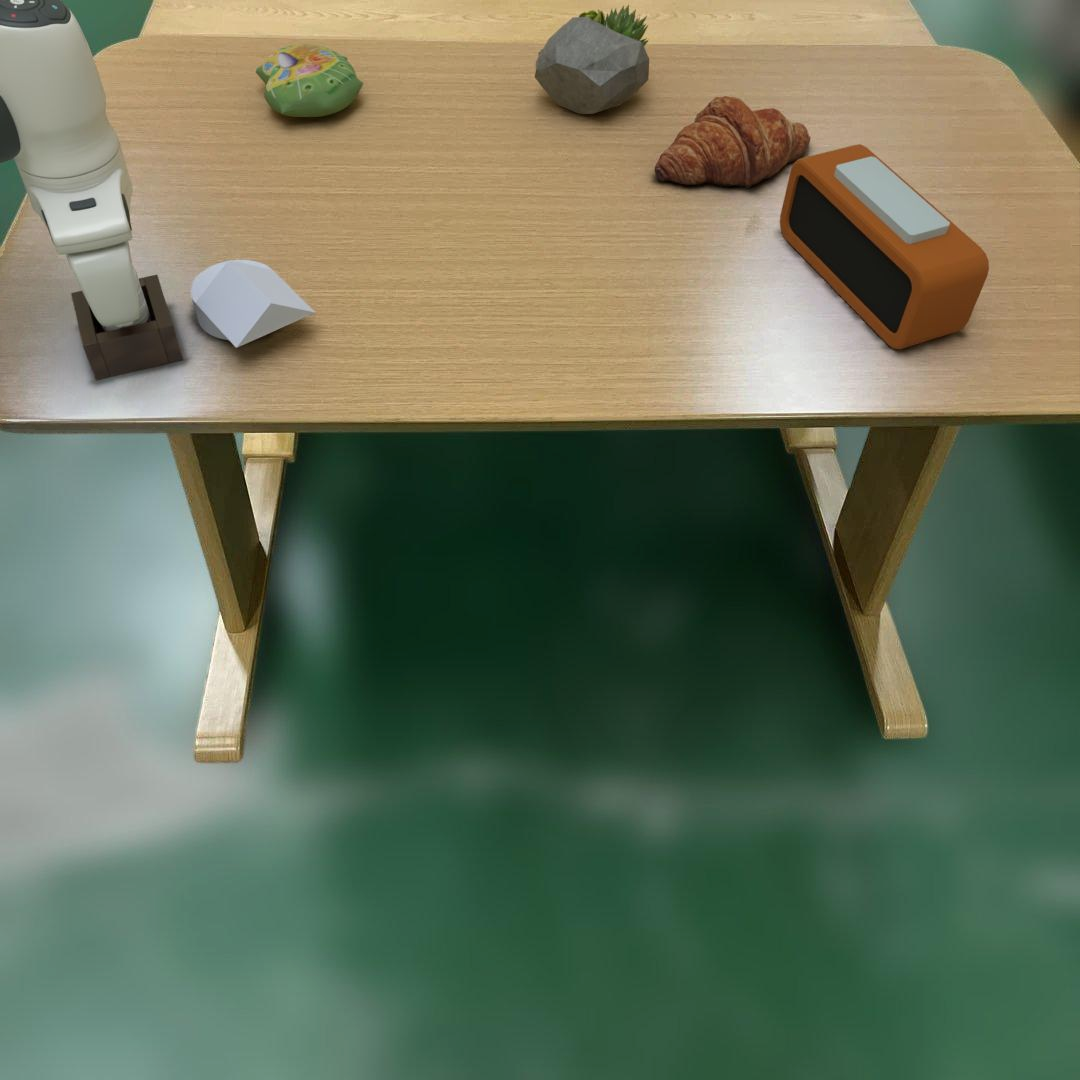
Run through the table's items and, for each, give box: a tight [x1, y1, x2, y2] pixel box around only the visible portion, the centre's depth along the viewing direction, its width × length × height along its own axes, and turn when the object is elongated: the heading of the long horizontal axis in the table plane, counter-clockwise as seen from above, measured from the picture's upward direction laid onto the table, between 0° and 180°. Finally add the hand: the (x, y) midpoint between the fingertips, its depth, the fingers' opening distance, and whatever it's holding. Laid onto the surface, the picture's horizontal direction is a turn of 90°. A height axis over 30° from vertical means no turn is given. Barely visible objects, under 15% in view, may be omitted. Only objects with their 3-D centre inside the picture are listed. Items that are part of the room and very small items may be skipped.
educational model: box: [255, 43, 364, 118], centre depth 142 cm, size 13×16×5 cm
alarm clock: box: [779, 143, 990, 350], centre depth 119 cm, size 24×8×11 cm, turn 25°
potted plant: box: [534, 4, 650, 115], centre depth 142 cm, size 12×13×15 cm
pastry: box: [654, 95, 811, 189], centre depth 134 cm, size 17×15×8 cm
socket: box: [70, 274, 184, 381], centre depth 112 cm, size 9×9×4 cm
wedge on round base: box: [190, 259, 316, 349], centre depth 114 cm, size 9×7×13 cm
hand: (119, 303), depth 110 cm, fingers closed on pill bottle, 5 cm apart
